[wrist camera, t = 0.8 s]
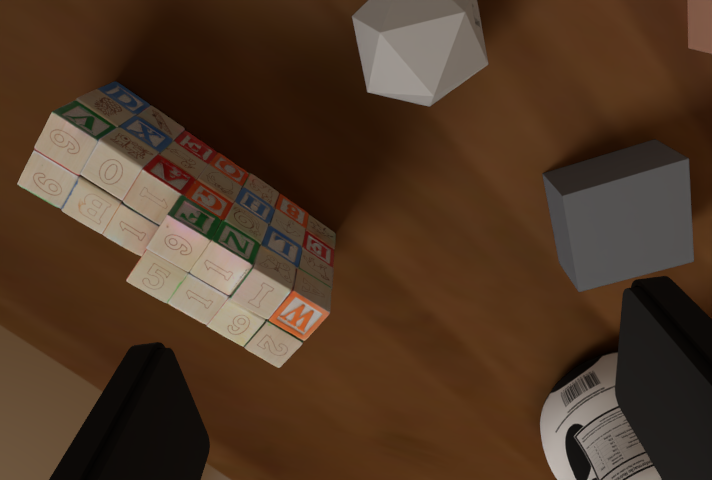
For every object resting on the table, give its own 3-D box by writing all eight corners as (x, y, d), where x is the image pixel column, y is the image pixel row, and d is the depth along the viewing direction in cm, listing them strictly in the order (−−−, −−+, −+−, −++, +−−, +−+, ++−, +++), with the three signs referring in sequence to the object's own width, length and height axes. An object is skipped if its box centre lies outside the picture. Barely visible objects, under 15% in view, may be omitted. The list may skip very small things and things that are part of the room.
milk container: (667, 460, 58) (782, 644, 42) (515, 452, 58) (574, 635, 42) (727, 338, 50) (897, 508, 34) (551, 328, 50) (640, 496, 34)
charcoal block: (541, 172, 43) (562, 196, 39) (653, 138, 42) (688, 158, 37) (558, 261, 47) (578, 292, 42) (661, 232, 45) (693, 261, 41)
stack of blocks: (81, 141, 42) (-17, 201, 31) (116, 78, 40) (22, 120, 29) (298, 280, 48) (279, 372, 37) (338, 232, 46) (331, 316, 35)
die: (441, 109, 41) (531, 75, 32) (345, 124, 37) (417, 90, 29) (421, 4, 40) (508, -61, 31) (320, 8, 36) (388, -63, 28)
